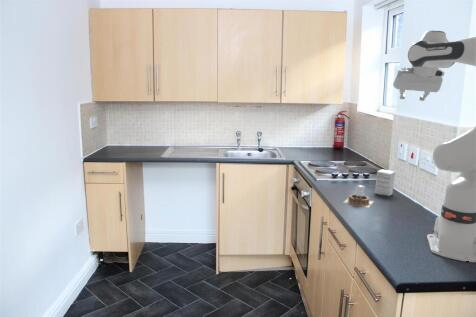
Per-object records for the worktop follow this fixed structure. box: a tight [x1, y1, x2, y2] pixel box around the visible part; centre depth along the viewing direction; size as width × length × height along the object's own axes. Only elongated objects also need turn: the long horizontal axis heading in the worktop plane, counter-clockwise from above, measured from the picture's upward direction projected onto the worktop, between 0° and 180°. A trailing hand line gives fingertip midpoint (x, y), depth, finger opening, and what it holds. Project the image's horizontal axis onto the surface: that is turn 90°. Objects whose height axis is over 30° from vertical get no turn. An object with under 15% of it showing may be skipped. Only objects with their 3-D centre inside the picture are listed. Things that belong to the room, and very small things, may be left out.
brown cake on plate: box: [342, 193, 374, 208], centre depth 184 cm, size 12×12×4 cm
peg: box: [354, 184, 366, 199], centre depth 184 cm, size 4×4×8 cm
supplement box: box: [374, 169, 396, 197], centre depth 201 cm, size 7×7×13 cm
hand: (411, 99), depth 168 cm, fingers open, 8 cm apart
